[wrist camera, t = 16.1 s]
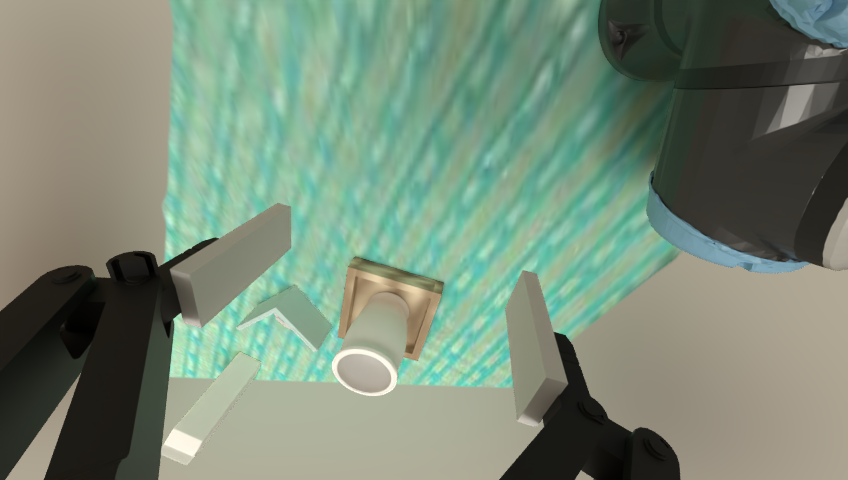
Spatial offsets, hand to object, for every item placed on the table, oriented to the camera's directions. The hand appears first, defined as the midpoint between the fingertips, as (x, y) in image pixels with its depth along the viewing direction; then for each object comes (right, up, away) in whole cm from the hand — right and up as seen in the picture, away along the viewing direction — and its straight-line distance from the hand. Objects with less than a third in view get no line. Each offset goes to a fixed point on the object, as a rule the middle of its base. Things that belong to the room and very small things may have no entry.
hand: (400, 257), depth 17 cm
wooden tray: (-5, -12, +43) cm, 45 cm away
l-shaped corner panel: (-27, -15, +49) cm, 58 cm away
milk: (-43, -30, +59) cm, 79 cm away
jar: (-6, -12, +42) cm, 44 cm away
